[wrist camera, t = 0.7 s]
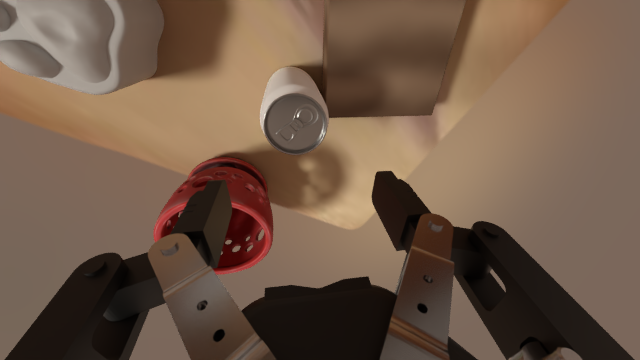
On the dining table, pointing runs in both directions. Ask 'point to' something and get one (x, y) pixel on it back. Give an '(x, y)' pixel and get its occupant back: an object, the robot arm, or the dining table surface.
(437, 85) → the walnut stand
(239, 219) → the plant pot
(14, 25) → the lumpy-topped squat cylinder
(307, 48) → the dining table surface
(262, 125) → the can
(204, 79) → the dining table surface
